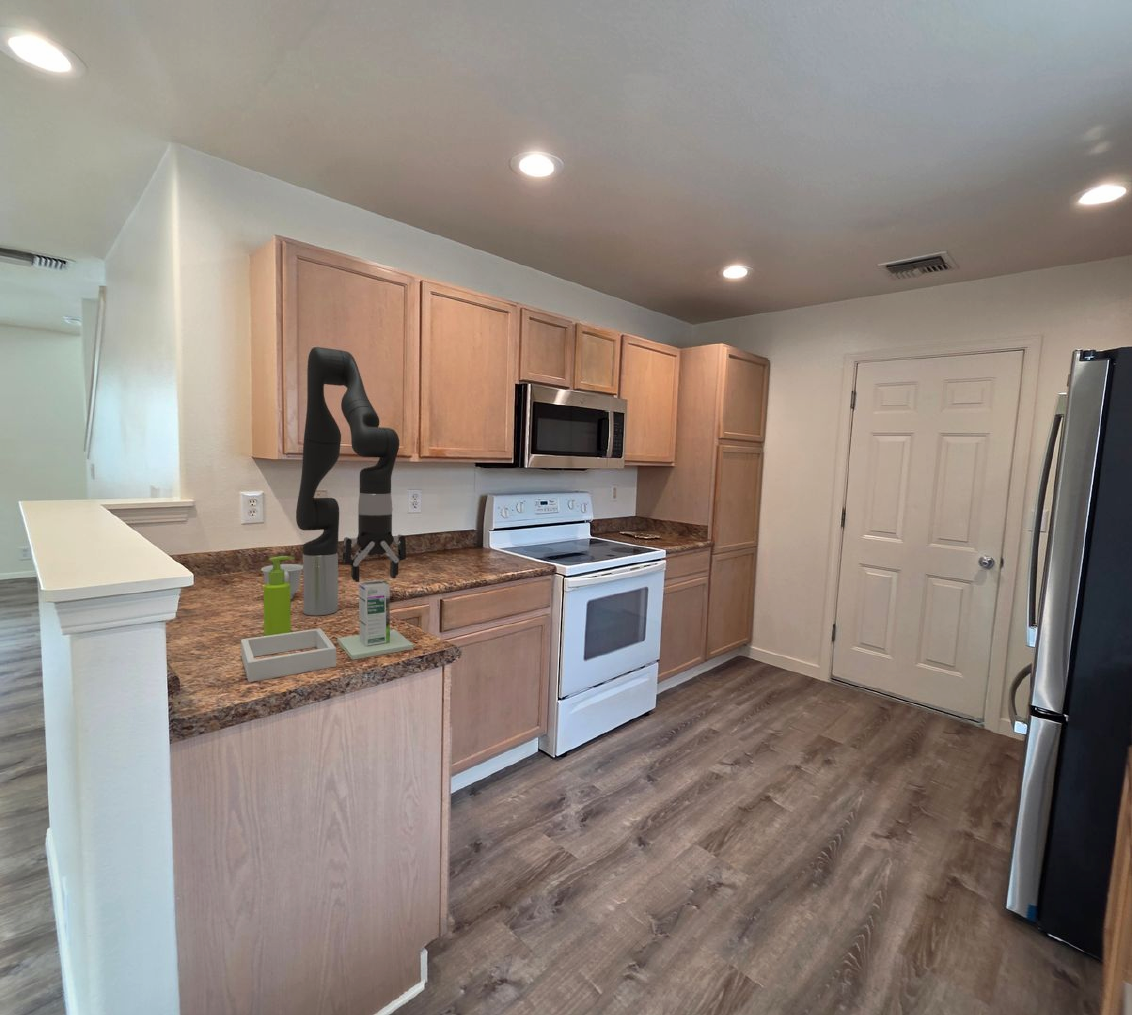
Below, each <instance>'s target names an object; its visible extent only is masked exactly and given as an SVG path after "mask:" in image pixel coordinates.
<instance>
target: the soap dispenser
mask: <svg viewBox="0 0 1132 1015" xmlns="http://www.w3.org/2000/svg"><path fill="white" fill-rule="evenodd" d="M268 560H269V561H270V562H272V565H273V569H272V570H271V571H269V584H266V583H265V584H264V585H263V589H262V590H263V634H264V636H269V635H276V634H284V633H291V632H292V625H291V624H292V617H291V614H292V612H291V604H292V602H291V599H290V583H286V582H285V575H284V570H282V569H281V561H282V560H290V561H291V560H295V557H293V556H287V555H281V556H280V555H279V556H274V557H269V558H268Z"/></svg>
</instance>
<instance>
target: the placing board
mask: <svg viewBox="0 0 1132 1015" xmlns="http://www.w3.org/2000/svg"><path fill="white" fill-rule="evenodd" d="M337 643H338V644H339V646H340V647H341V648H342V649H343V651H344V652H345V653H346V654H347V656H348V657H349V658H350V659H351V660H352V661H353V660H359V659H364V658H371V657H376V656H380V655H388V654H393V653H398V652H399V653H400V652H403V651H410V650H414V646H415V645H414V644H413V643H412V642H411V641H410V640H408V639H407V638H406V637H405V636H403V634H401V633H400V632H399V631H398V630H397V629H395V628H394V629H390V642H389V643H382V644H376V645H370V646H365V645H364V644H363V643H362V642H361V640H360V634H355V635H349V636H343V637H342V636H341V637H337Z"/></svg>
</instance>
